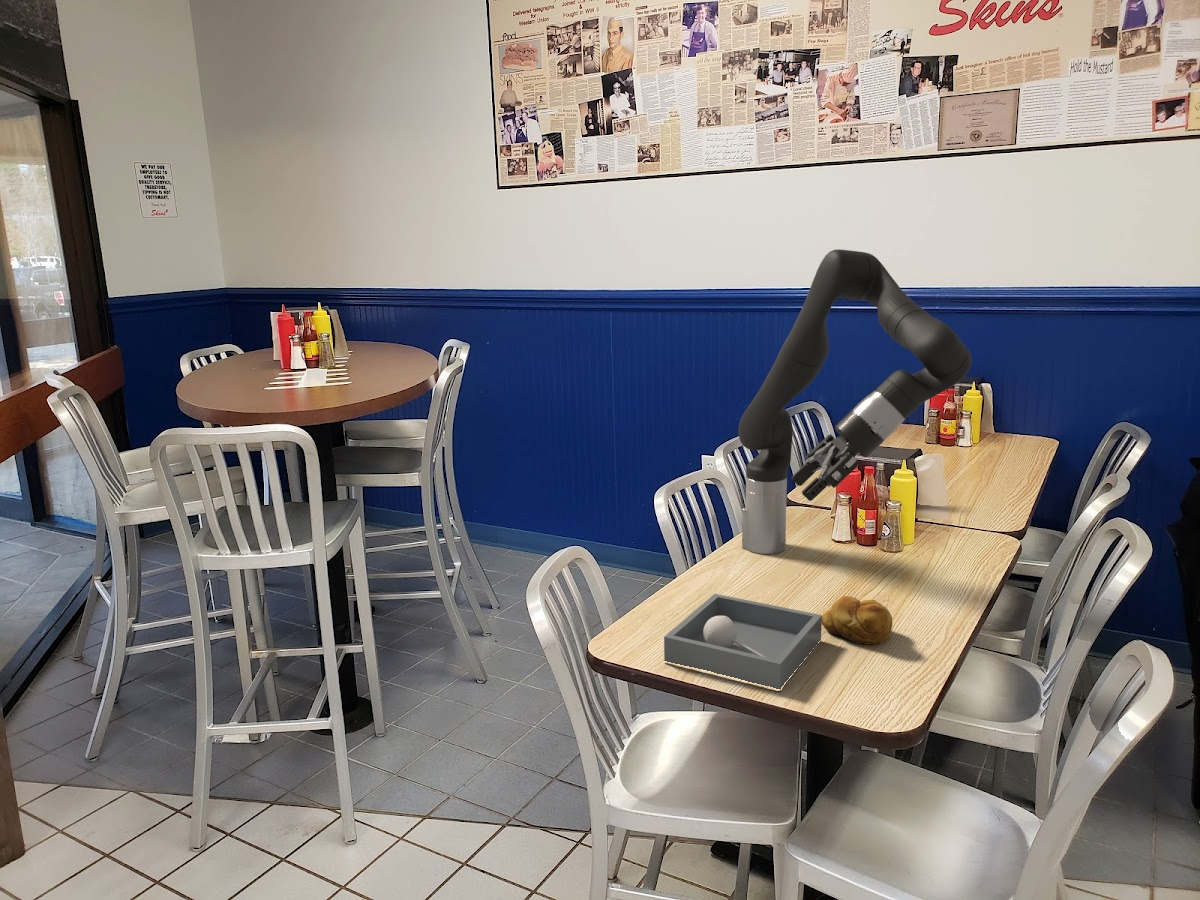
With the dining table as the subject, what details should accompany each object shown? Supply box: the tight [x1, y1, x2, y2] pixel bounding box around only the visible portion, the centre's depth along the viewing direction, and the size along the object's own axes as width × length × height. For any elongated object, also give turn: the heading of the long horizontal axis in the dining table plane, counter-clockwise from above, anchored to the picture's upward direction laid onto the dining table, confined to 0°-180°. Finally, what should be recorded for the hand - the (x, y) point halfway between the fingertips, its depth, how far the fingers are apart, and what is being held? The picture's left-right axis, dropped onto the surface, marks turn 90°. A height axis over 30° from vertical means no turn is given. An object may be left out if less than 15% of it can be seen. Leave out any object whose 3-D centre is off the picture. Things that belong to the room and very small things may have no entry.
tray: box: [663, 593, 823, 689], centre depth 158 cm, size 21×21×5 cm
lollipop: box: [703, 616, 765, 657], centre depth 155 cm, size 6×6×15 cm
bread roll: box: [821, 595, 893, 645], centre depth 163 cm, size 13×10×8 cm
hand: (800, 489), depth 155 cm, fingers open, 8 cm apart
